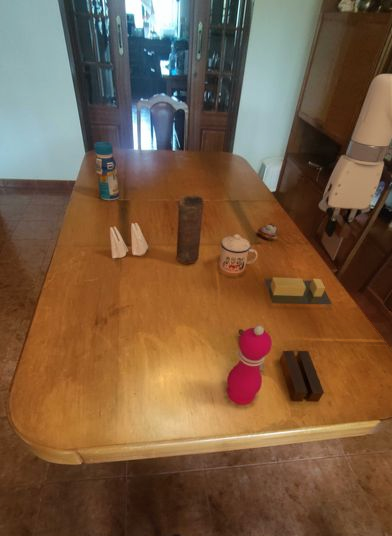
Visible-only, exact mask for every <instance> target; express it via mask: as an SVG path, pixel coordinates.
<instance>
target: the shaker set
mask: <svg viewBox="0 0 392 536" xmlns="http://www.w3.org/2000/svg"><path fill="white" fill-rule="evenodd" d="M109 235H110V236H109V237H110V239H109V240H110V248H111V249H110V250H111V257H112V259H118V258H119V259H121V258H124V257H125V256H126V255H127V253H128V252H129V249H128V246H127V244H126V243H125V240H124V239H123V237H122V235H121V233H120V231H119V230H118V229H117V227H116V226H113V227H112V226H111V227H110V228H109ZM130 236H131V237H130V238H131V253H132V254H131V255H133V256H138V257H143V256H144V255H146V252H147V250H148V249H149V245H148V243H147V241H146V238H145V236H144V234H143V233H142V230H141V227H140V226H139V224H138V222H134V223H133V222H132V223H131V225H130Z"/></svg>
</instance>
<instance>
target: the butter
mask: <svg viewBox="0 0 392 536" xmlns="http://www.w3.org/2000/svg"><path fill="white" fill-rule="evenodd" d="M271 279H272V282H271V285H270V287H271V290H272V293H273V295H286V296H303V294H304V291H305V289H306V286H305V284H304V282H303V278H302V277H276V276H275V277H272V278H271Z"/></svg>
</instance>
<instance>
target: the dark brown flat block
mask: <svg viewBox="0 0 392 536" xmlns="http://www.w3.org/2000/svg"><path fill="white" fill-rule="evenodd" d="M342 217H343V216H342V215H341V214H340V213H339V214H338V216H337V219H336V221H337V225H336V227H335V230H334V232H333V235H332V236H331V237H328V235H327V234H326V232H325V231H324V232H323V235H322V238H321V240H320V242H321V243H322V245H323V247H324V249H325V250H326V251H327V253H328V255H329V256H330V258H331V260H332V261H335V259H336V257H337V254H338V252H339V249H340V247H341V245H342V242H343V240H344V239H347V238H348V236H349V234H350V231H351V229H352V228H351V227H350V226H349V225H350V224H349V225H348V224H347V223H346V222H345V220H344V219H343V218H342ZM328 219H329V216H328V214H327V215H326V218H325V220H326V222H328Z"/></svg>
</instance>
